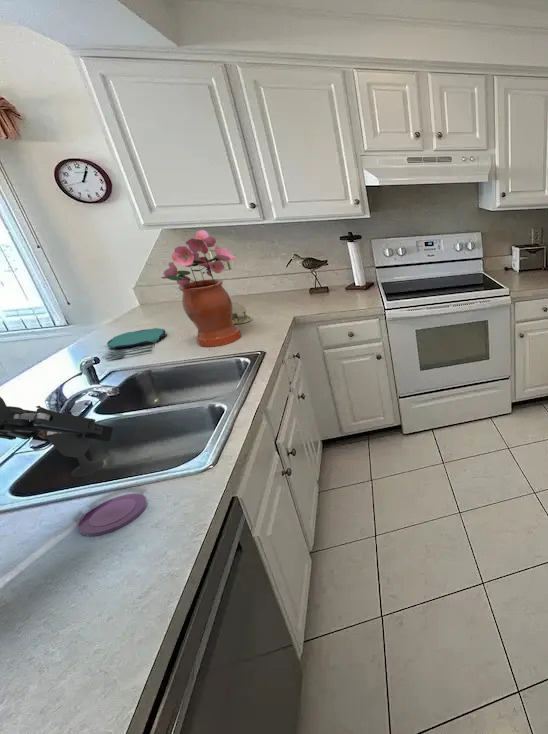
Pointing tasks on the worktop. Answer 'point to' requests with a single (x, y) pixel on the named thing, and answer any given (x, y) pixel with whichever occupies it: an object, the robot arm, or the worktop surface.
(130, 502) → the plum plate
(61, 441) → the sundae
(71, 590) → the worktop surface
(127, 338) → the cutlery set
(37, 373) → the worktop surface
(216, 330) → the potted flower
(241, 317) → the ceramic model
